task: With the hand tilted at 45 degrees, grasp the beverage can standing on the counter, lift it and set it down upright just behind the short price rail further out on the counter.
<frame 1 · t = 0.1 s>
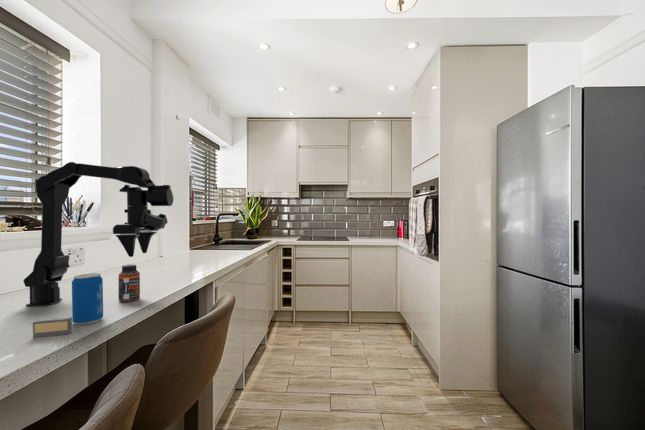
hand: (138, 254, 105), 15 cm above the countertop, tool pointing down, fingers open, 9 cm apart
price rail: (52, 334, 76), on the countertop
beverage can: (88, 322, 85), on the countertop
supplement bottle: (129, 301, 105), on the countertop
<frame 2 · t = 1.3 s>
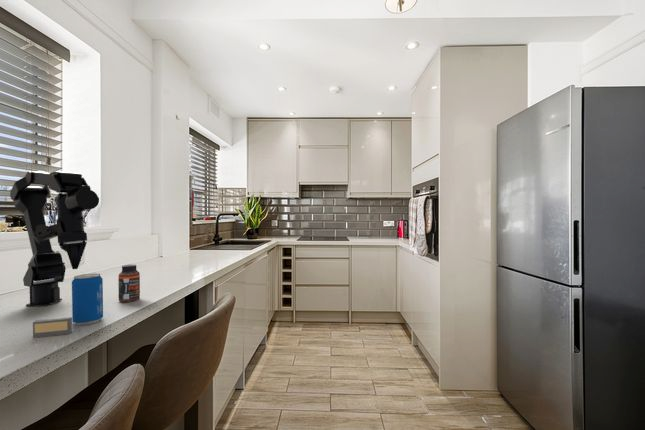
hand: (75, 269, 93), 12 cm above the countertop, tool pointing down, fingers open, 9 cm apart
nothing on the countertop moved.
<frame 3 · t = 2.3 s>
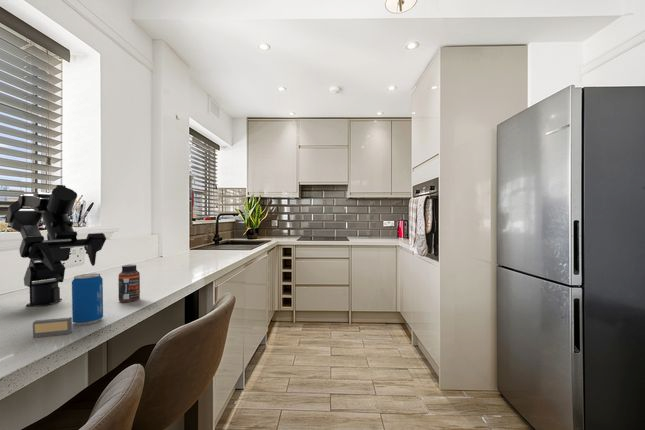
hand: (74, 267, 89), 13 cm above the countertop, tool tilted 45°, fingers open, 9 cm apart
nothing on the countertop moved.
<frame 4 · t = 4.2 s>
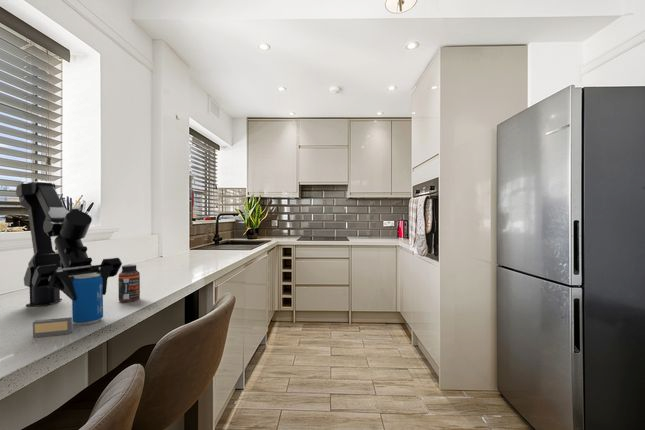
hand: (90, 296, 84), 7 cm above the countertop, tool tilted 45°, fingers closed on beverage can, 6 cm apart
beverage can: (88, 322, 85), on the countertop, touching gripper
everything else where it was.
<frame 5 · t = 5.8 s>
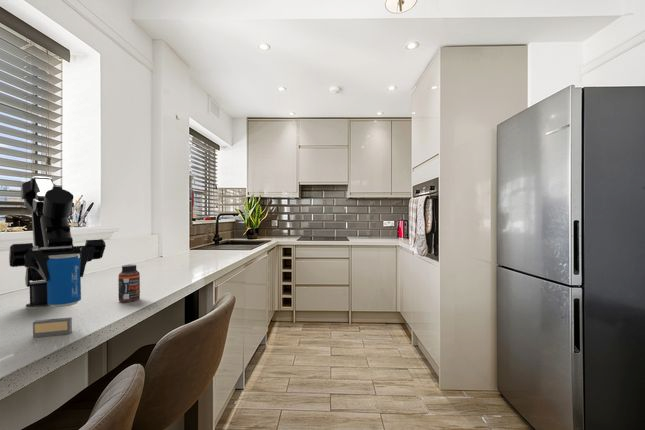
hand: (65, 278, 80), 12 cm above the countertop, tool tilted 45°, fingers closed on beverage can, 6 cm apart
beverage can: (64, 305, 81), point 5 cm above the countertop, touching gripper
everything else where it was.
when the fingers open (7 cm above the countertop, at t = 7.2 s): beverage can stays where it is, on the countertop.
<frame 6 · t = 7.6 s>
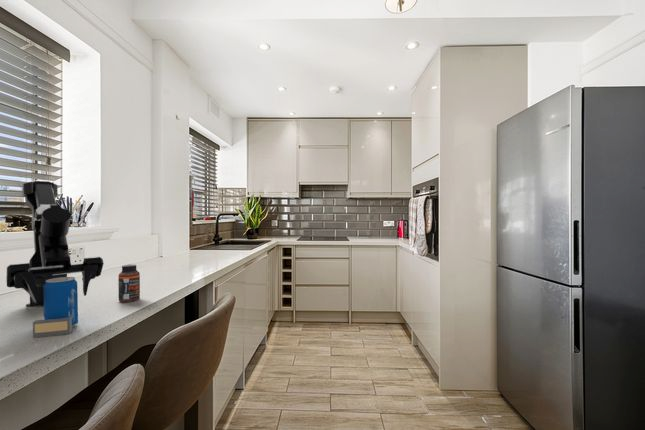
hand: (62, 298, 79), 8 cm above the countertop, tool tilted 45°, fingers open, 9 cm apart
beverage can: (61, 328, 80), on the countertop
everything else where it was.
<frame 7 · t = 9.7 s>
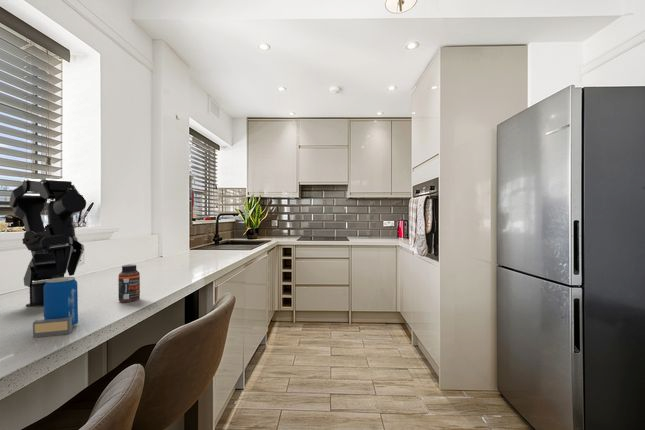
hand: (67, 274, 93), 11 cm above the countertop, tool pointing down, fingers open, 9 cm apart
nothing on the countertop moved.
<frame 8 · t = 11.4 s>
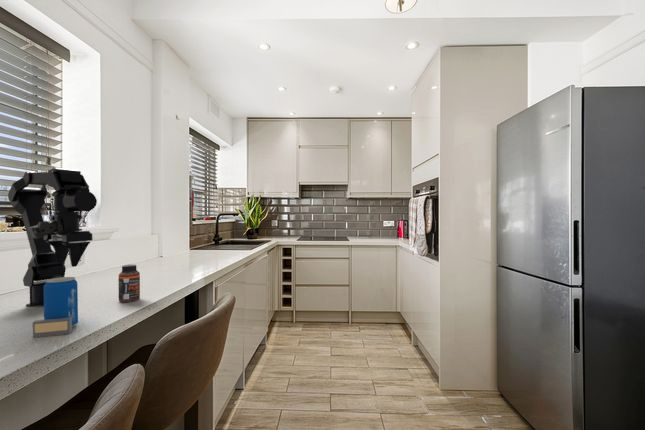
hand: (67, 265, 96), 13 cm above the countertop, tool pointing down, fingers open, 9 cm apart
nothing on the countertop moved.
at the end: beverage can 0.3 cm from the target spot, on the countertop; beverage can tilted 0° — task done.
